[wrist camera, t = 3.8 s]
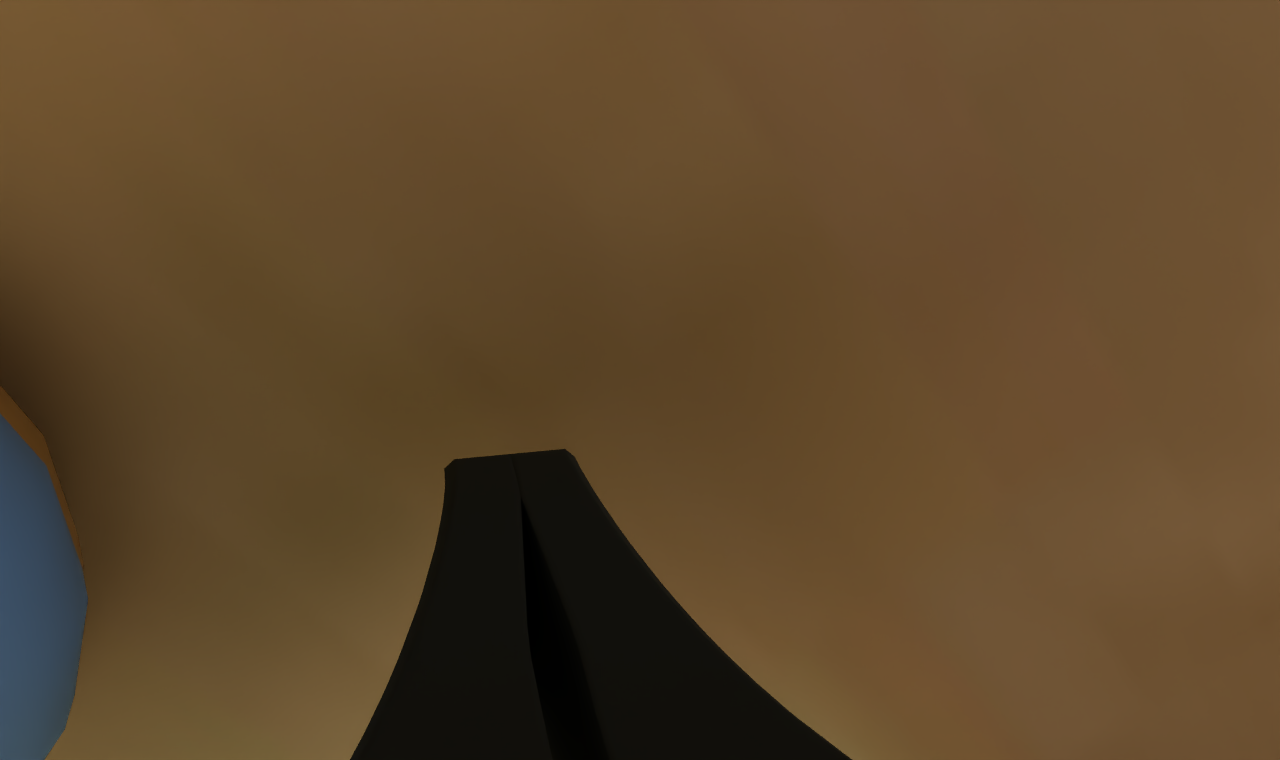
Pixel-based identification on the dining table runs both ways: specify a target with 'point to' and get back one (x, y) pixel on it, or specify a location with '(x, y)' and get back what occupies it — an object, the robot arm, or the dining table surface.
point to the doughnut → (35, 592)
